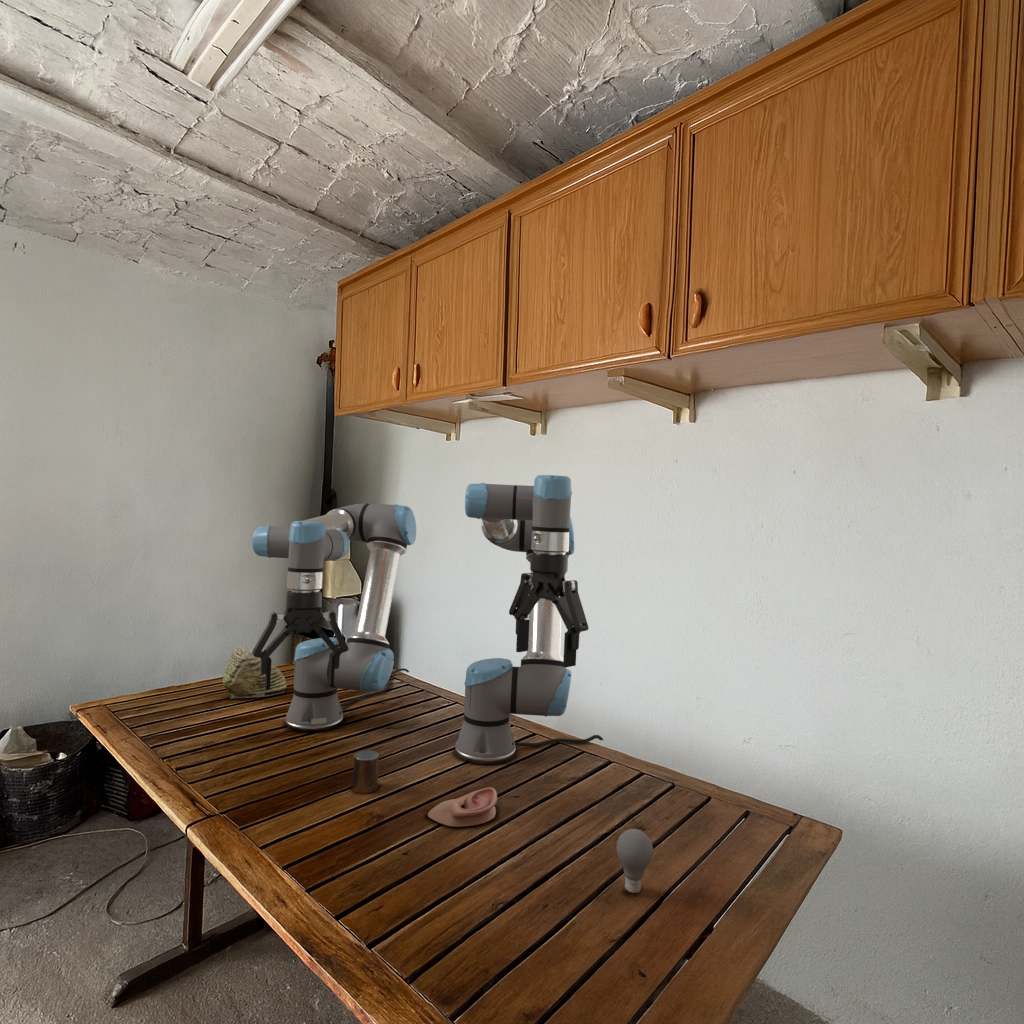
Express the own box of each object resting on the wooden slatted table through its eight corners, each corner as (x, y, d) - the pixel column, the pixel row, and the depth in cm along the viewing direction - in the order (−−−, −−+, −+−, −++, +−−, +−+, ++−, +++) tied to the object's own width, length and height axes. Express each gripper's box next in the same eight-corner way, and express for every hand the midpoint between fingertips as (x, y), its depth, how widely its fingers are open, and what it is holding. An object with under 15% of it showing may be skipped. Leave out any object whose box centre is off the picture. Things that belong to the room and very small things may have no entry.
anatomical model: (423, 802, 125) (441, 778, 136) (422, 822, 125) (440, 796, 136) (488, 812, 122) (501, 786, 133) (487, 832, 122) (500, 805, 133)
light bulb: (610, 879, 108) (613, 822, 108) (644, 879, 109) (647, 822, 109) (619, 902, 102) (622, 840, 102) (655, 901, 103) (658, 840, 103)
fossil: (218, 695, 195) (220, 647, 195) (278, 685, 208) (279, 640, 207) (228, 703, 189) (230, 653, 188) (289, 692, 201) (290, 645, 201)
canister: (365, 780, 142) (366, 748, 142) (382, 786, 140) (383, 754, 139) (347, 788, 138) (348, 755, 138) (365, 795, 135) (366, 762, 135)
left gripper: (245, 593, 132) (240, 695, 132) (364, 591, 143) (359, 685, 143) (242, 588, 138) (237, 685, 138) (356, 587, 150) (351, 677, 150)
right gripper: (495, 547, 133) (491, 647, 134) (583, 559, 115) (577, 676, 115) (521, 547, 138) (517, 643, 139) (610, 558, 119) (604, 670, 120)
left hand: (299, 685), depth 141 cm, fingers open, 13 cm apart
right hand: (544, 658), depth 127 cm, fingers open, 13 cm apart
